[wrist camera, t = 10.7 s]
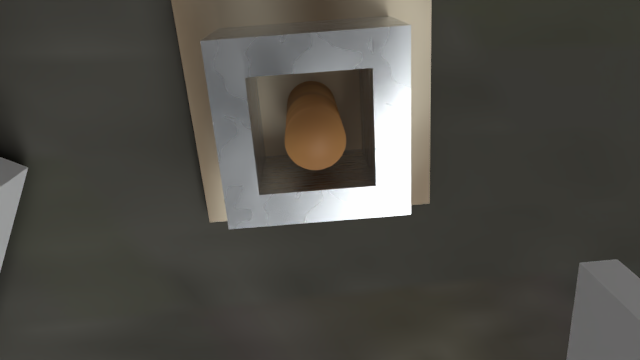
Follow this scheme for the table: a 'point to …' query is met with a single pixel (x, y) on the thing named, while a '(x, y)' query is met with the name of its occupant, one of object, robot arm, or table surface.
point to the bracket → (9, 198)
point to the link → (280, 171)
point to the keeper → (303, 88)
